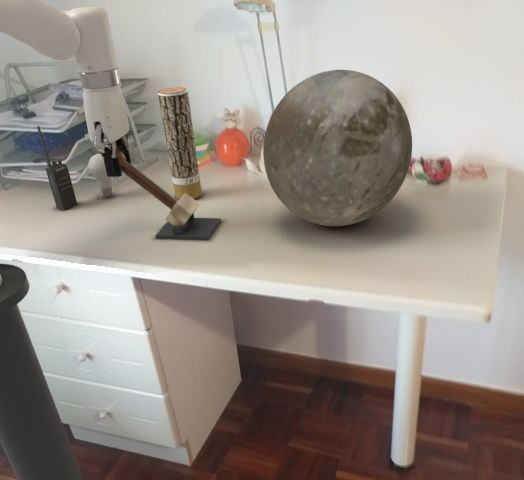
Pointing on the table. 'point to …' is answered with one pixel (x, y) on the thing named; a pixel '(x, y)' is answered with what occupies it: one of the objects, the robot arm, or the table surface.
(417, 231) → the table surface
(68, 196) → the walkie-talkie
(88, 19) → the robot arm
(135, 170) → the mallet
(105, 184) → the lightbulb
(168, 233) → the stand
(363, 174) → the globe
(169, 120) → the paper tube
